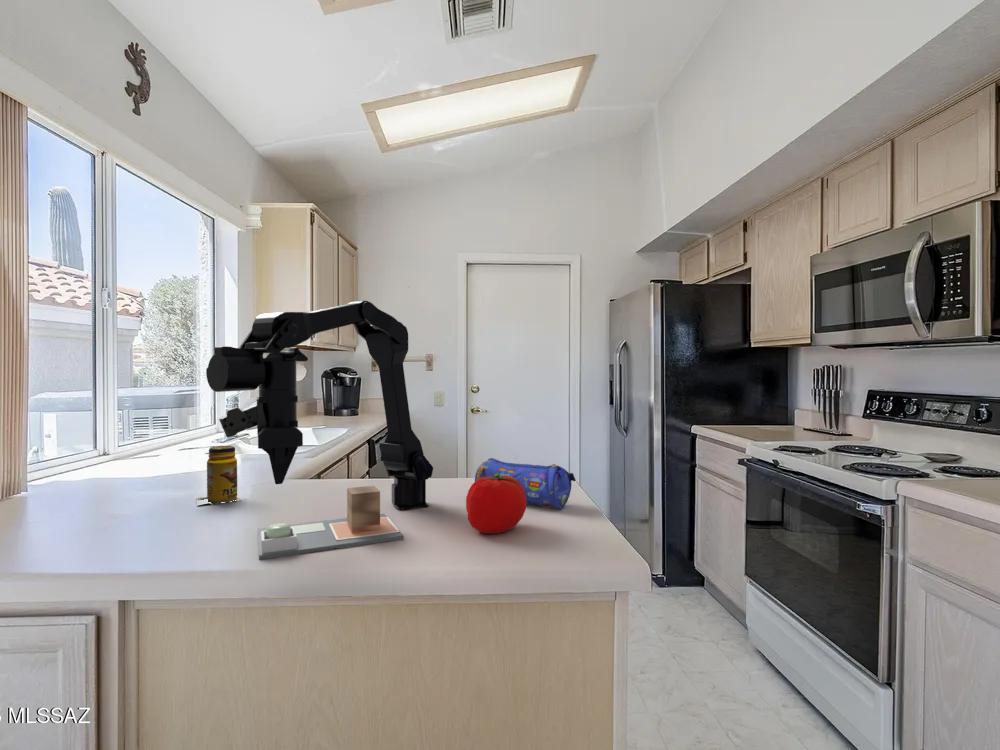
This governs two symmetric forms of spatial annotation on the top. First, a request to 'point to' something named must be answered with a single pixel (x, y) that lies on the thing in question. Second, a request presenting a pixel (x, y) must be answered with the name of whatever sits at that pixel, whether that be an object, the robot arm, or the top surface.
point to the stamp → (363, 509)
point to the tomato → (495, 504)
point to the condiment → (221, 475)
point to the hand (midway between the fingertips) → (278, 483)
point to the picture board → (323, 537)
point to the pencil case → (533, 480)
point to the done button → (278, 531)
